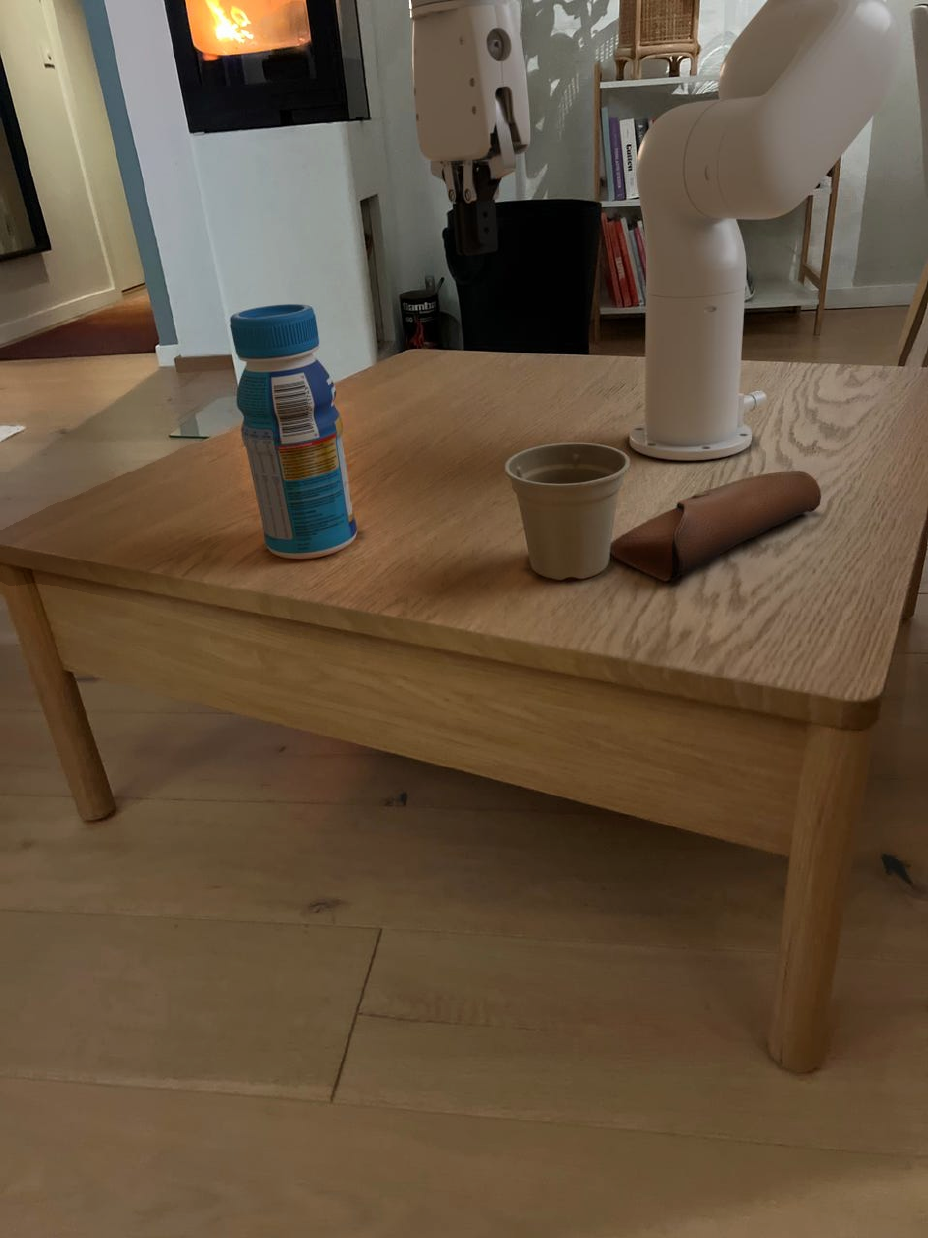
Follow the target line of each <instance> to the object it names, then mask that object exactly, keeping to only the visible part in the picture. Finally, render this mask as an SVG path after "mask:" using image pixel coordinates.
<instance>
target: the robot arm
mask: <svg viewBox="0 0 928 1238" xmlns="http://www.w3.org/2000/svg"><path fill="white" fill-rule="evenodd" d="M408 2H409V4H408V5H409V14H410V16H409V17H410V20H411V21H413V22H412V82H413V83H412V84H413V103H414V115H415V125H416V133H417V141H418V145H419V151H420V153H421V154H422V156H423V157H424V158H426V160H429V161H430V172H431V175H432V176H434V177H436V178H438V179H440V180H442V181H443V182H444V184H445V187H446V188H445V189H446V193H447V199H448V201H449V203H451V204H452V214H453V215H452V216H453V224H454V225H453V228H454V237H455V250H456V254H457V255H459V256H467V257H468V256H469V257H471V256H478V255H483V254H488V253H489V254H490V253H495V252H497V251H498V248H499V242H498V241H499V240H498V225H497V224H498V223H497V212H496V211H497V207H496V200H497V199H498V198H499V197H500V183H501V181H502V179H503V178H505V177H507V176H509V175H511V174H513V173H515V171H516V170H517V160H516V155H521V154H523V153H525V152H526V151H527V149H529V147H530V144H531V119H530V106H529V104H530V103H529V93H528V83H527V82H528V81H527V74H526V65H525V57H524V51H523V44H522V38H521V34H520V28H519V23H518V18H517V15H516V11H515V7H514V5H513V4H510V0H408ZM900 54H901V31H900V25H899V22H898V19H897V17H896V15H895V12H894V11H893V9H892V8H891V6H890V5H889V4H888V3H886V1H884V0H766V2H764V4H763V5H762V6H761V8H760V9H759V10H758V11H757V13H756V14H755V15H754V16H753V18H752V19H751V20H750V21H749V23H748V24H747V25H746V26H745V27H744V28H743V30H742V31H741V32H740V33H739V35H738V36H737V37H736V39H735V40H734V42H733V43H732V45H731V46H730V48H729V50H728V52H727V53H726V54H725V57H724V58H723V61H722V64H721V66H720V69H719V72H718V79H717V93H718V98H719V99H711V100H710V99H709V100H701V101H695V102H688V103H685V104H680V105H679V106H676V107H673V108H672V109H669V110H667V111H666V112H665V113H662V115H660V116H659V117H658V118H656V120H655V121H654V122H653V123H652V124H651V125H650V126H649V128H648V129H647V130H646V132H645V134H644V136H643V138H642V140H641V143H640V145H639V148H638V150H637V151H638V152H637V155H636V156H637V158H636V168H635V176H636V187H637V193H638V199H639V205H640V210H641V216H642V221H643V222H642V223H643V230H644V244H645V345H644V346H645V347H644V349H645V353H644V422H642V423H640V424H638V425H636V426H634V428H632V429H631V431H630V432H629V444H630V447H631V448H632V449H633V450H634V451H636V452H638V453H640V454H642V455H645V456H648V457H652V458H656V459H662V460H669V461H670V460H671V461H706V460H713V459H720V458H725V457H729V456H733V455H736V454H738V453H740V452H742V451H744V450H745V449H747V448H748V447H750V445H751V444H752V442H753V441H752V440H753V430H752V428H750V427H749V425H747V424H745V423H744V417H746V416H747V414H748V413H749V412H753V411H756V410H760V409H763V408H764V407H766V405H767V403H768V397H767V395H766V394H767V393H765V392H764V391H763V390H756V391H751V392H749V393H746V394H745V393H742V392H740V385H741V369H742V368H741V367H742V352H743V351H742V350H743V337H744V336H743V333H744V315H745V302H746V301H745V300H746V286H747V270H748V269H747V254H746V248H745V243H744V239H743V235H742V232H741V229H740V227H739V224H738V221H737V220H751V221H754V220H755V221H756V220H760V221H761V220H771V219H775V218H778V217H781V216H785V215H787V214H788V213H790V212H791V211H793V210H794V209H795V208H797V207H798V206H799V205H801V203H803V202H804V201H805V200H806V199H807V198H808V197H809V196H810V195H811V194H812V193H813V191H814V190H815V189H816V188H817V187H818V185H819V184H820V183H822V180H824V178H825V177H826V175H828V174H829V172H830V171H831V169H832V168H833V167H834V166H835V164H836V163H838V161H839V159H840V158H841V157H842V156H843V155H844V154H845V152H846V151H847V150H848V148H849V147H850V146H851V145H852V143H853V141H854V140H856V138H857V137H858V136H859V134H860V133H861V132H862V131H863V129H864V128H865V127H866V126H867V124H869V122H870V121H871V119H872V118H873V117H874V115H875V114H876V112H877V111H878V110H879V108H880V107H881V105H882V104H883V102H884V100H885V98H886V97H887V94H888V92H889V91H890V89H891V87H892V84H893V81H894V78H895V76H896V71H897V69H898V66H899V59H900Z"/></svg>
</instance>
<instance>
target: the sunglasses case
mask: <svg viewBox="0 0 928 1238" xmlns="http://www.w3.org/2000/svg"><path fill="white" fill-rule="evenodd" d="M821 499H822V492H821V488H820V485H819V484H818V482H817V480H816V479H815V478H814V477H813V476H812V475H811V474H809V473H808V472H806V471H801V470H790V471H787V470H786V471H775V472H767V473H763V474H758V475H753V476H749V477H745V478H741V479H738V480H735V481H734V480H733V481H732V482H729V483H726V484H724V485H720V486H716V487H714V488H710V489H707V490H704V491H701V492H698V493H695V494H693V495H691V496H690V497H687V498H685V499H683V500H679V501H678V502H677V503H676V507H675V508H673V509H670V510H667V511H665V512H663V513H661V514H659V515H657V516H654V517H653V518H650V519H648V520H646V521H645V522H642V523H641V524H639V525H637V526H636V527H633V528H632V529H630V530H628V531H627V532H625V533H624V534H622V535H620V536H619V537H617V538H615V540H612V541H611V546H610V556H611V557H613V558H615V559H616V560H617V561H619V562H621V563H622V564H624V565H625V566H628V567H629V568H631V569H633V570H636V571H637V572H640V573H642V574H645V575H647V576H649V577H651V578H654V579H656V580H657V581H661V582H663V583H669V582H674V581H675V580H676V579H677V578H678V577H679V576H681V575H683V576H686V575H687V574H689V573H691V572H692V571H695V569H697V568H700V567H702V566H703V565H705V564H706V563H708V562H709V561H711V560H714V559H715V558H716V557H718V556H719V555H720V554H722V553H726V552H727V551H729V550H730V549H732V548H733V547H735V546H737V545H738V544H739V543H744V542H745V541H748V540H749V539H752V538H755V537H756V536H758V535H761V534H762V533H764V532H766V531H768V530H769V529H771V528H774V527H777V526H779V525H782V524H784V523H786V522H787V521H789V520H792V519H794V518H796V517H798V516H801V515H803V514H805V513H807V512H808V513H812V512H814V511H815V510H816V509H817V508H818V507H819V506H820V505H821V501H822V500H821Z"/></svg>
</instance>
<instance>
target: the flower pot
mask: <svg viewBox="0 0 928 1238" xmlns="http://www.w3.org/2000/svg"><path fill="white" fill-rule="evenodd" d="M630 466H631V459H630V457H629V455H628V454H626V453H625V452H624V451H623V450H621V449H618V448H616V447H612V446H608V445H604V444H599V443H592V442H581V441H580V442H576V441H575V442H571V441H570V442H556V443H548V444H542V445H537V446H534V447H530V448H527V449H524V450H521V451H520V452H517V453H515V454H513V455H512V456H510V457H509V458H508V459H507V460H506V461H505V463H504V467H503V468H504V469H503V470H504V473H505V475H506V476H507V477H508V478H509V479H510V483H511V487H512V490H513V492H514V493H515V494H516V498H517V502H518V507H519V511H520V517H521V521H522V526H523V531H524V537H525V542H526V548H527V552H528V558H529V564H530V566H531V569H532V570H533V571H534V572H535V573H537V575H540V576H542V577H544V578H548V579H552V580H556V581H563V580H566V579H567V578H568V579H569V578H576V579H578V580H585V579H589V578H591V577H594V576H596V575H598V574H600V573H602V572H604V571H605V569H606V568H607V567H608V565H609V562H610V556H611V555H610V546H611V543H612V539H613V538H612V537H613V530H614V523H615V518H616V517H615V516H616V511H617V504H618V497H619V491H620V489H621V488H622V486H623V483H624V477H625V474H626V473H627V472H628V471H629V469H630Z"/></svg>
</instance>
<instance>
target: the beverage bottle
mask: <svg viewBox="0 0 928 1238" xmlns="http://www.w3.org/2000/svg"><path fill="white" fill-rule="evenodd" d="M229 321H230V324H229V326H230V332H231V337H232V341H233V346H234V350H235V354H236V356H237V358H238V360H240V361H242V362H245V367H244V368H243V371H242V373H241V376H240V378H239V382H238V385H237V389H236V407H237V409H238V411H239V412H240V413H241V414H242V416H243V421H242V423H241V428H240V434H241V440H242V443H243V445H244V447H245V449H246V454H247V459H248V463H249V467H250V472H251V477H252V482H253V486H254V491H255V496H256V500H257V504H258V511H259V515H260V520H261V525H262V529H263V537H264V542H265V546H266V548H267V549H268V551H269V552H270V553H272V554H273V555H275V556H277V557H279V558H284V559H289V560H310V559H317V558H321V557H325V556H326V557H327V556H328V555H333V554H335V553H337V552H339V551H342V550H344V549H345V548H347V547H349V546H350V545H351V544H352V543H353V542H354V541H355V539H356V537H357V534H358V527H357V521H356V518H355V513H354V508H353V507H354V506H353V501H352V496H351V489H350V483H349V482H350V481H349V474H348V468H347V461H346V455H345V454H346V453H345V448H344V447H345V446H344V440H343V433H344V423H343V419H342V416H341V413H340V412H339V410H338V409H337V408H336V406H335V400H336V396H337V388H336V386H335V384H334V381H333V379H332V377H331V376H330V374H329V372H328V371H327V369H326V368H325V366H324V365H323V364H322V363H321V361H319V359H317V357H316V356H315V355H314V353H315V352H317V351H318V350H319V348H320V338H319V337H320V336H319V329H318V323H317V317H316V313H315V310H314V308H313V307H312V306H310V305H308V304H303V303H301V304H299V303H287V304H274V305H266V306H259V307H254V308H250V309H245V310H242V311H239V312H236V313H234V314H232V315H231V316H230V319H229Z"/></svg>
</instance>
